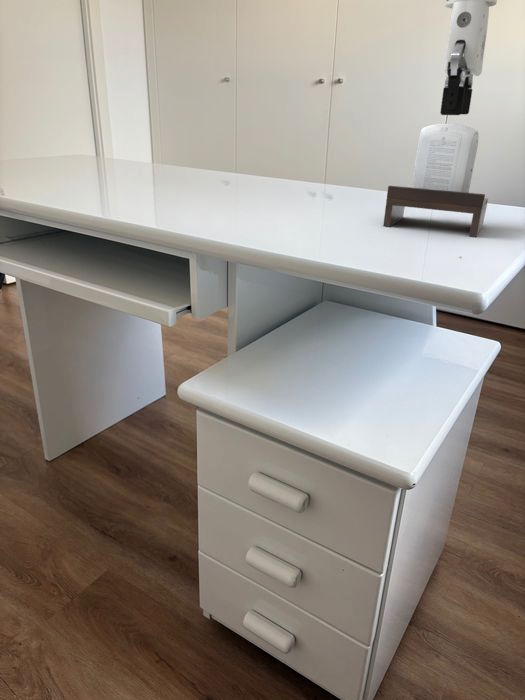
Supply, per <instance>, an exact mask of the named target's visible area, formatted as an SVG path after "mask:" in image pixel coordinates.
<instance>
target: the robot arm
mask: <svg viewBox="0 0 525 700" xmlns="http://www.w3.org/2000/svg"><path fill="white" fill-rule="evenodd" d="M497 3H498V0H445V7H446V8H448V9H451V15H450V21H449V27H448V34H447V39H446V41H447V42H446V48H445V57H444V73H445V74H446V76H445V80H444V87H443V89H442V90H443V91H442V97H441V105H440V112H439V113H440V115H441V116H460V115H468V114H469V113H470V109H471V102H472V95H473V82H474V77H479V76H480V75H481V74H482V72H483V64H484V55H485V49H486V40H487V33H488V25H489V16H490V15H489V14H490V7H494V6H496V5H497Z"/></svg>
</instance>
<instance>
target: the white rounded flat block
mask: <svg viewBox="0 0 525 700" xmlns="http://www.w3.org/2000/svg"><path fill="white" fill-rule="evenodd" d="M478 147H479V131H478V130H477V129H475V128H473V127H470V126H467V125H464V124H459V123H451V122H450V123H447V122H445V123H442V122H441V123H434V124H431V125H427V126H424V127H422V128H421V130H420V133H419V136H418V141H417V148H416V154H415V159H414V160H415V161H414V166H413V167H414V168H413V172H412V173H413V175H412V180H411V186H410V187H412V188H423V189H434V190H445V191H456V192H467V193H470V187H471V182H472V177H473V173H474V168H475V167H474V166H475V161H476V157H477V153H478V152H477V151H478Z"/></svg>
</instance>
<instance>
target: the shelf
mask: <svg viewBox="0 0 525 700" xmlns="http://www.w3.org/2000/svg"><path fill="white" fill-rule="evenodd" d="M386 192H387V193H386V201H385V209H384V217H383V223H382V226H383V227H387V228H390V227H392V226H393V225H394V224H395V223H398V221H400V220H402V219H403V218H404V213H405V208H414V209H422V210H423V209H425V210H432V211H433V210H434V211H445V212H452V213H464V214H472V218H471V224H470V229H469V233H468V237H472V238H477V237H478V235H479V234H480V231H481V230H482V228H483V226H484V221H485V216H486V212H487V208H488V207H487V206H488V201H489V198H488V197H487V198H486V193H478V192H469V193H467V192H456V191H445V190H434V189H423V188H412V187H411V186H400V185H388V186H387V191H386Z"/></svg>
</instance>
